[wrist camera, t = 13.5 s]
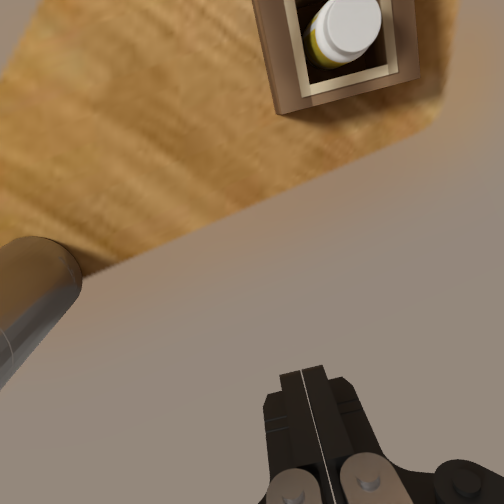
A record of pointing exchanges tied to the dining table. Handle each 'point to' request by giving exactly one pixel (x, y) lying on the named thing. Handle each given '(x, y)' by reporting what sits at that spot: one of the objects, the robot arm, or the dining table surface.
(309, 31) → the supplement bottle
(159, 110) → the dining table surface
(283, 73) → the socket block
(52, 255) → the robot arm
